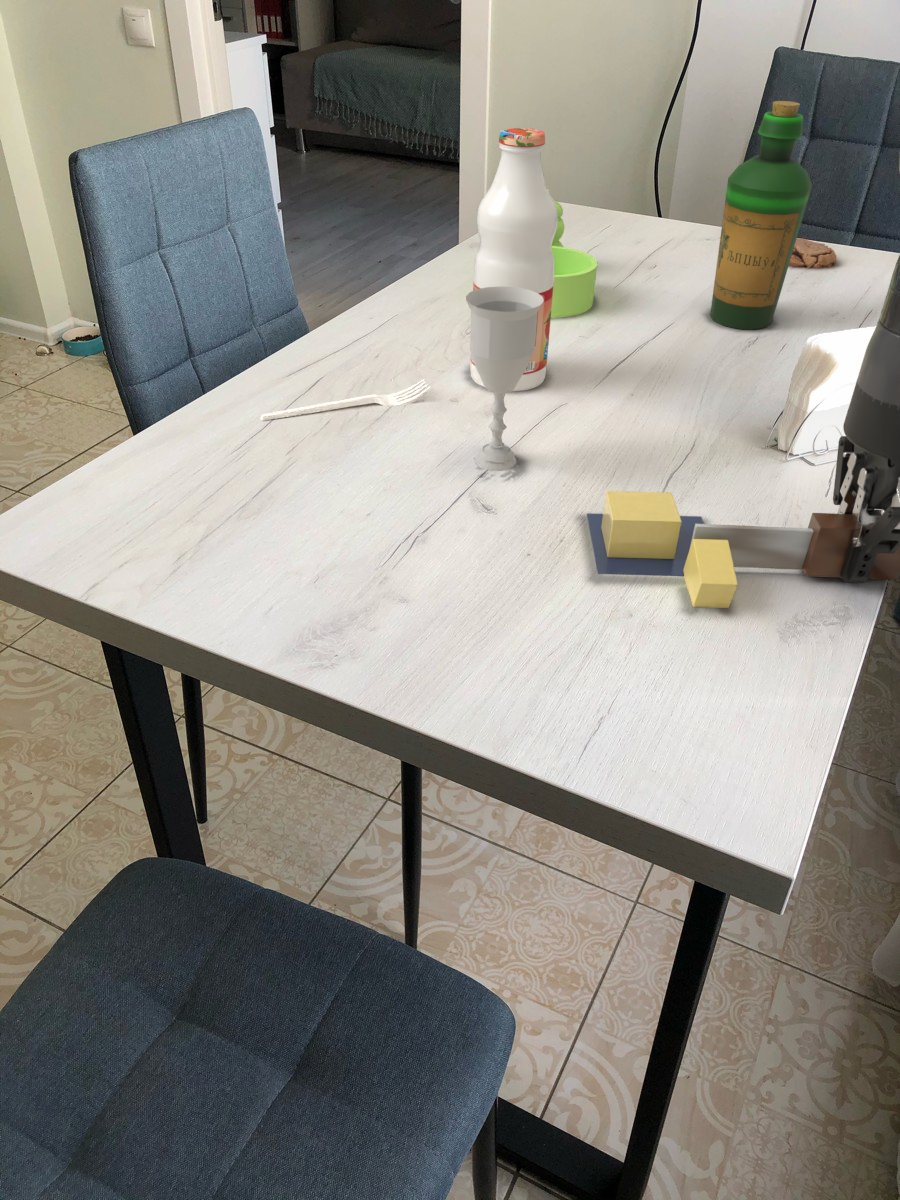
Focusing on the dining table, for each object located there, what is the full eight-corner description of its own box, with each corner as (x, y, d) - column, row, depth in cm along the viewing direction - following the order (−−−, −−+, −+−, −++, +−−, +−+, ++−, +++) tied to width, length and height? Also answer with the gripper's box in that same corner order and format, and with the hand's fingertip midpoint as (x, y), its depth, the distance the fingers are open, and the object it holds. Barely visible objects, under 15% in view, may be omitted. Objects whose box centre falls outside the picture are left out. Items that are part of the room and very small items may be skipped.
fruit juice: (455, 373, 118) (461, 128, 101) (514, 358, 122) (529, 120, 105) (500, 401, 112) (514, 144, 95) (560, 383, 116) (585, 135, 99)
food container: (598, 320, 133) (609, 229, 126) (496, 319, 133) (501, 227, 125) (578, 265, 153) (586, 183, 146) (489, 263, 153) (492, 181, 145)
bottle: (687, 319, 134) (726, 101, 118) (729, 303, 140) (772, 93, 123) (751, 341, 128) (802, 114, 111) (793, 323, 134) (847, 105, 117)
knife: (887, 564, 83) (905, 516, 80) (897, 580, 81) (916, 531, 78) (684, 555, 83) (695, 507, 80) (689, 571, 81) (700, 522, 78)
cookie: (835, 274, 152) (840, 255, 151) (768, 266, 155) (772, 248, 153) (833, 256, 160) (838, 238, 158) (769, 249, 162) (773, 231, 161)
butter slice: (717, 570, 82) (728, 539, 79) (726, 615, 79) (738, 584, 76) (682, 569, 82) (692, 538, 79) (690, 614, 79) (701, 583, 76)
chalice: (521, 451, 102) (534, 285, 91) (537, 482, 96) (552, 309, 85) (455, 455, 101) (459, 287, 90) (467, 487, 95) (473, 313, 84)
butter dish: (699, 525, 90) (709, 479, 87) (721, 586, 82) (733, 538, 79) (585, 521, 90) (591, 476, 87) (596, 582, 82) (603, 535, 79)
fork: (258, 416, 107) (256, 401, 106) (422, 392, 113) (422, 377, 112) (264, 428, 104) (262, 413, 103) (432, 403, 111) (432, 388, 110)
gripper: (999, 427, 66) (920, 620, 76) (924, 350, 77) (863, 528, 88) (892, 424, 66) (827, 617, 76) (833, 348, 77) (783, 526, 88)
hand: (847, 569), depth 82 cm, fingers closed on knife, 2 cm apart
